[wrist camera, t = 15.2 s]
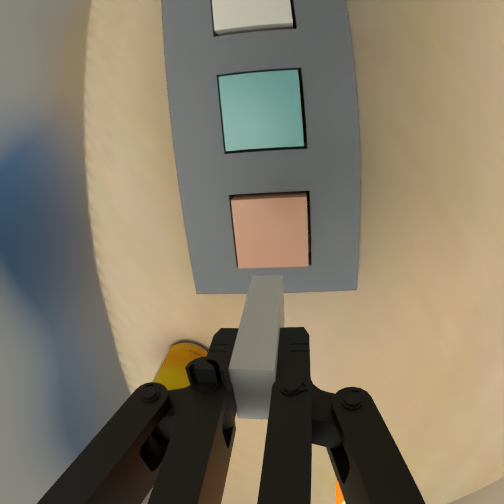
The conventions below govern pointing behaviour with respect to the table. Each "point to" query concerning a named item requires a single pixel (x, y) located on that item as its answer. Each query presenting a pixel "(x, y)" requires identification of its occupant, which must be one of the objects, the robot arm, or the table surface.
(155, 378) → the beer can
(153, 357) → the table surface
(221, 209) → the panel
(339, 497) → the orange juice
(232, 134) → the teal button
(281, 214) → the terracotta button
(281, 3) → the cream button
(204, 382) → the robot arm
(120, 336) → the table surface
